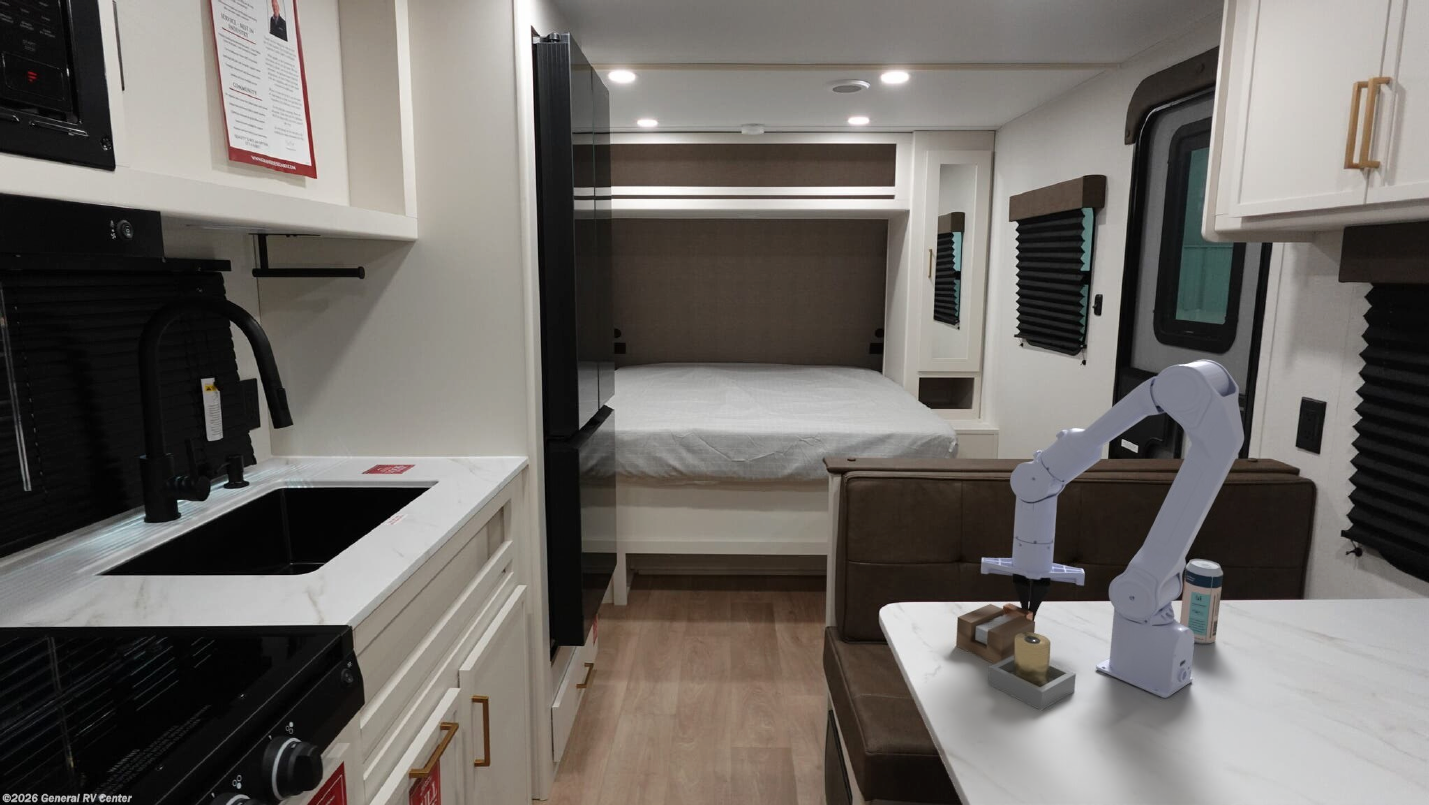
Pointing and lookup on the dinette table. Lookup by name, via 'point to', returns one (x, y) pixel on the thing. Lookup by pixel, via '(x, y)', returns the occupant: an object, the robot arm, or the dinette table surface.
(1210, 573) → the beer can
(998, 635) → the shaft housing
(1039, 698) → the socket
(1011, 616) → the shaft
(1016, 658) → the pepper mill
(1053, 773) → the dinette table surface
